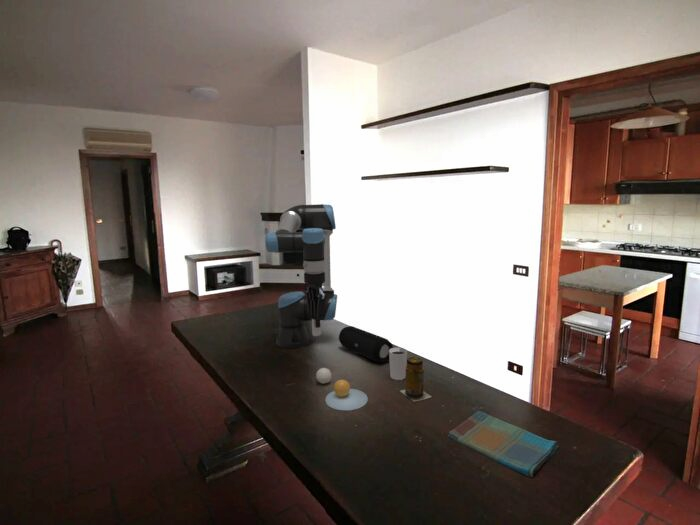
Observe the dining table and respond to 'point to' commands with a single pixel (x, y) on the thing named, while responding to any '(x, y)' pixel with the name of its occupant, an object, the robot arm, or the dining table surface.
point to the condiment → (415, 380)
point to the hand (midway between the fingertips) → (316, 334)
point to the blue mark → (347, 400)
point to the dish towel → (504, 443)
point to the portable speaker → (365, 343)
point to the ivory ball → (323, 375)
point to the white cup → (398, 363)
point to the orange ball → (341, 388)
